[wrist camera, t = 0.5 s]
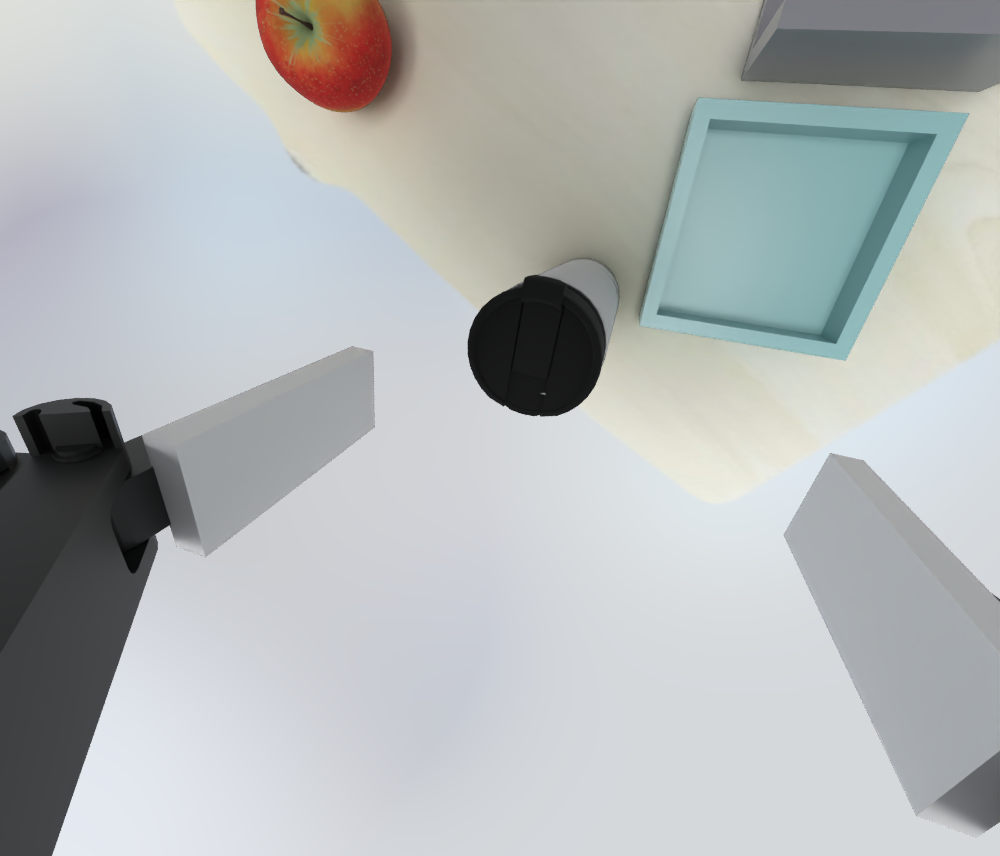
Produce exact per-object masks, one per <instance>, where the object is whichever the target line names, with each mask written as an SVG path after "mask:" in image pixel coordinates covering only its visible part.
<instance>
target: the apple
mask: <svg viewBox="0 0 1000 856" xmlns="http://www.w3.org/2000/svg"><path fill="white" fill-rule="evenodd" d="M256 16H257V23H258V28H259V33H260V37H261V40H262V43H263V46H264V49H265V51H266V53H267V55H268V58H269V59H270V61H271V63H272V64H273V66H274V67H275V69H276V70H277V72H278V73H279V74H280V75H281V76H282V77H283V78H284V80H285V81H286V82H287V83H288V84H289V85H290V86H291V87H293V88H294V89H295V90H296V91H297V92H298V93H300V94H301V95H302V96H304V97H305V98H306V99H308V100H309V101H311V102H313V103H314V104H316V105H318V106H320V107H323V108H325V109H328V110H331V111H336V112H353V111H356V110H359V109H362V108H363V107H365V106H367V105H368V104H369V103H370V102H372V101H373V100H374V99H375V97H376V96H377V95H378V93H379V92H380V90H381V89H382V87H383V85H384V83H385V81H386V78H387V75H388V72H389V68H390V64H391V56H392V43H391V35H390V31H389V26H388V22H387V20H386V17H385V14H384V12H383V9H382V7H381V5H380V3H379V1H378V0H256Z"/></svg>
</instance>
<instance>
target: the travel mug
mask: <svg viewBox="0 0 1000 856" xmlns="http://www.w3.org/2000/svg"><path fill="white" fill-rule="evenodd" d="M618 303H619V288H618V283H617V281H616V279H615V277H614V275H613V274H612V272H611V271H610V270H609V269H608V268H607V267H606V266H605V265H603V264H601V263H600V262H598V261H595V260H592V259H584V258H582V259H574V260H571V261H568V262H566V263H564V264H562V265H559V266H557V267H555V268H553V269H550V270H548V271H546V272H544V273H541V274H539V275H532V276H527V277H525V279H524V281H523V282H521V283H519V284H517V285H516V286H514V287H512V288H510V289H509V290H507V291H505V292H502V293H501V294H499V295H497V296H496V297H494V298H492V299H491V300H490V301H489V302H488V303H487V304H485V305H484V306H483V307H482V308H481V310H480V311H479V313H478V314H477V316H476V317H475V319H474V321H473V324H472V326H471V329H470V333H469V338H468V357H469V363H470V367H471V369H472V372H473V374H474V377H475V379H476V380H477V382H478V384H479V385H480V387H481V388H482V389H483V390H484V392H485V393H486V394H487V395H488V396H489V397H490V398H491V399H493V400H494V401H496V402H497V403H499V404H501V405H502V406H505V405H506V406H507V407H508V408H509V409H511V410H513V411H516V412H518V413H521V414H525V415H531V416H537V415H540V416H558V415H560V414H563V413H566V412H568V411H570V410H572V409H573V408H575V407H577V406H578V405H579V404H581V403H582V402H583V401H584V400H585V399H586V398H587V397H588V396H589V394H590V393H591V391H592V390H593V388H594V387H595V385H596V382H597V380H598V377H599V375H600V371H601V367H602V365H603V362H604V360H605V356H606V352H607V348H608V344H609V340H610V336H611V332H612V328H613V324H614V320H615V316H616V312H617V308H618Z"/></svg>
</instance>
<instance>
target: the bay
mask: <svg viewBox="0 0 1000 856" xmlns="http://www.w3.org/2000/svg"><path fill="white" fill-rule="evenodd" d="M741 80H750V81H770V82H790V83H811V84H831V85H851V86H872V87H892V88H912V89H933V90H953V91H973V92H979V91H982V90H984V89H987V88H989V87H991V86H994V85H996V84H999V83H1000V0H764V3H763V7H762V10H761V14H760V17H759V21H758V24H757V27H756V31H755V34H754V38H753V41H752V44H751V48H750V51H749V55H748V58H747V62H746V65H745V68H744V72H743V75H742V79H741Z"/></svg>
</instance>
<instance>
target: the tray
mask: <svg viewBox="0 0 1000 856" xmlns="http://www.w3.org/2000/svg"><path fill="white" fill-rule="evenodd" d="M968 115H969V113H953V112H936V111H919V110H902V109H885V108H868V107H850V106H833V105H816V104H799V103H782V102H765V101H748V100H731V99H713V98H698V100H697V102H696V104H695V106H694V108H693V110H692V114H691V118H690V121H689V125H688V129H687V133H686V137H685V141H684V145H683V149H682V152H681V156H680V160H679V164H678V168H677V172H676V176H675V180H674V184H673V187H672V191H671V195H670V199H669V203H668V207H667V211H666V215H665V219H664V222H663V226H662V230H661V234H660V238H659V242H658V246H657V250H656V254H655V257H654V261H653V265H652V269H651V273H650V277H649V281H648V285H647V288H646V292H645V296H644V300H643V304H642V308H641V312H640V316H639V326H643V327H649V328H655V329H661V330H667V331H673V332H679V333H685V334H691V335H697V336H703V337H709V338H714V339H720V340H726V341H732V342H738V343H744V344H750V345H756V346H762V347H768V348H774V349H780V350H786V351H791V352H797V353H803V354H809V355H815V356H821V357H827V358H833V359H839V360H845V361H846V359H847V357H848V355H849V353H850V351H851V349H852V347H853V345H854V343H855V341H856V339H857V337H858V335H859V333H860V331H861V329H862V327H863V325H864V323H865V321H866V319H867V317H868V315H869V313H870V311H871V309H872V307H873V305H874V303H875V301H876V299H877V297H878V295H879V293H880V291H881V289H882V287H883V285H884V283H885V281H886V279H887V277H888V275H889V273H890V271H891V269H892V267H893V265H894V263H895V261H896V259H897V257H898V255H899V253H900V251H901V249H902V247H903V245H904V243H905V241H906V239H907V237H908V235H909V233H910V231H911V229H912V227H913V225H914V223H915V221H916V219H917V217H918V215H919V213H920V211H921V209H922V207H923V205H924V203H925V201H926V199H927V197H928V195H929V193H930V191H931V189H932V187H933V185H934V183H935V181H936V179H937V177H938V175H939V173H940V171H941V169H942V167H943V165H944V163H945V161H946V159H947V157H948V155H949V153H950V151H951V149H952V147H953V145H954V143H955V141H956V139H957V137H958V135H959V133H960V131H961V129H962V127H963V125H964V123H965V121H966V119H967V117H968Z"/></svg>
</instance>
